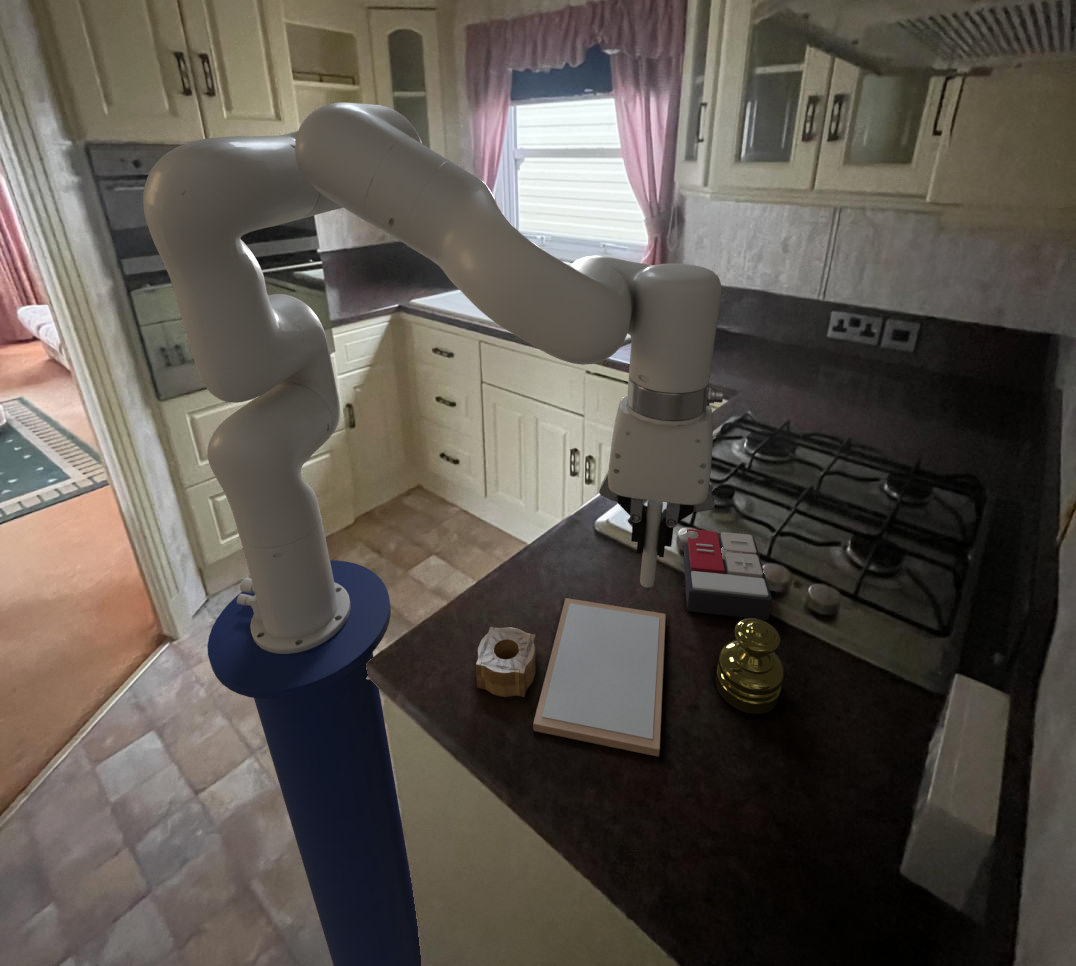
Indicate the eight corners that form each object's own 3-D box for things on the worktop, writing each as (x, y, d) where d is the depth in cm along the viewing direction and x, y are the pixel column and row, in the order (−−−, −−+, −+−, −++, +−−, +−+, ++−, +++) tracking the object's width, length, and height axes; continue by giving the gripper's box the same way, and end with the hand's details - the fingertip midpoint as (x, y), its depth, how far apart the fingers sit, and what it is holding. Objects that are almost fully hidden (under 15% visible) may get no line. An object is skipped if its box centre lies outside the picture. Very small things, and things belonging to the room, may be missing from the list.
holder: (471, 690, 72) (469, 667, 71) (488, 645, 78) (487, 623, 77) (527, 701, 71) (527, 677, 69) (540, 655, 77) (540, 632, 75)
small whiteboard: (533, 730, 67) (533, 723, 67) (565, 604, 85) (565, 597, 85) (658, 757, 65) (659, 748, 64) (664, 620, 82) (665, 613, 82)
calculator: (754, 531, 94) (773, 595, 80) (751, 554, 95) (769, 620, 82) (683, 525, 96) (690, 586, 82) (681, 547, 97) (687, 611, 83)
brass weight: (702, 673, 74) (712, 612, 70) (752, 656, 76) (764, 597, 72) (739, 724, 68) (751, 661, 64) (792, 705, 70) (808, 642, 66)
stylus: (638, 593, 67) (647, 505, 62) (639, 583, 69) (648, 496, 64) (652, 595, 67) (662, 507, 62) (653, 585, 68) (663, 498, 63)
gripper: (747, 387, 59) (722, 536, 67) (591, 373, 62) (585, 517, 70) (755, 421, 53) (726, 582, 60) (580, 403, 56) (574, 559, 64)
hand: (650, 546), depth 65 cm, fingers closed on stylus, 1 cm apart
